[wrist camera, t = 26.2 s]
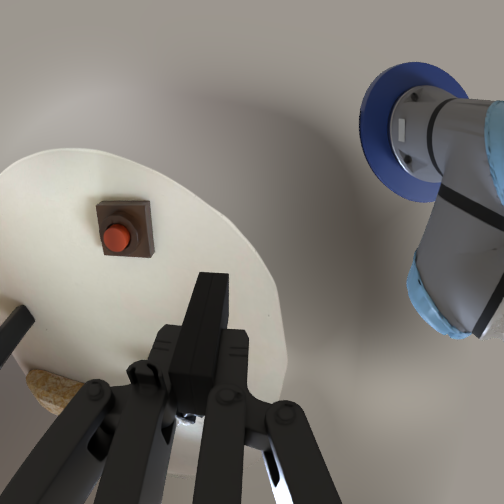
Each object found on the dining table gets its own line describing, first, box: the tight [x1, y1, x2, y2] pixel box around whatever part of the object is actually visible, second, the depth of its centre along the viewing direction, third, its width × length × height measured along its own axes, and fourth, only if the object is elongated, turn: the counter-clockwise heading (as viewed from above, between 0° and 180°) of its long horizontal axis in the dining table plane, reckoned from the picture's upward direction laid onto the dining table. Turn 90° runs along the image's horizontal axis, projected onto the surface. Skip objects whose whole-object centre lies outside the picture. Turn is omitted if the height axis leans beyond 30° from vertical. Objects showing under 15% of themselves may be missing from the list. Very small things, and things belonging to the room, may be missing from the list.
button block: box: [96, 201, 155, 258], centre depth 44 cm, size 9×9×4 cm
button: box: [104, 224, 130, 252], centre depth 41 cm, size 4×4×2 cm
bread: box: [26, 369, 84, 416], centre depth 66 cm, size 36×11×10 cm, turn 86°
